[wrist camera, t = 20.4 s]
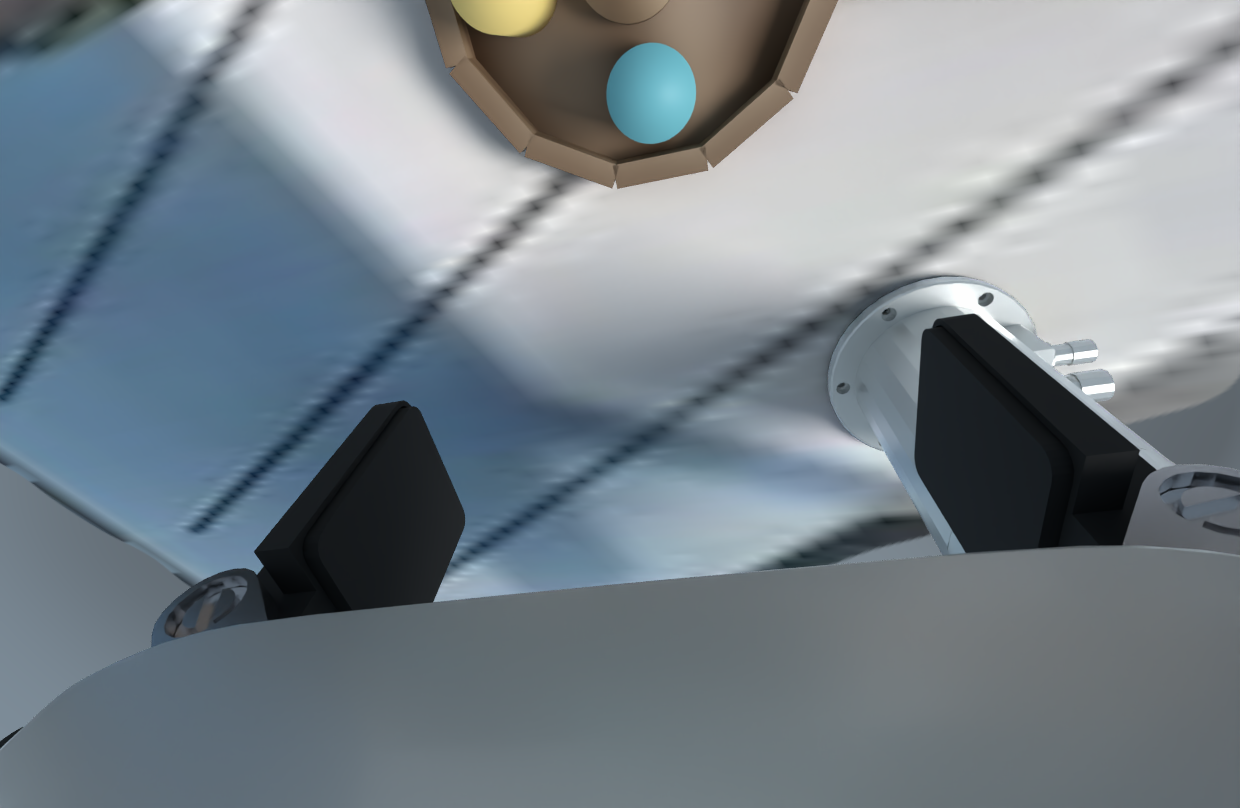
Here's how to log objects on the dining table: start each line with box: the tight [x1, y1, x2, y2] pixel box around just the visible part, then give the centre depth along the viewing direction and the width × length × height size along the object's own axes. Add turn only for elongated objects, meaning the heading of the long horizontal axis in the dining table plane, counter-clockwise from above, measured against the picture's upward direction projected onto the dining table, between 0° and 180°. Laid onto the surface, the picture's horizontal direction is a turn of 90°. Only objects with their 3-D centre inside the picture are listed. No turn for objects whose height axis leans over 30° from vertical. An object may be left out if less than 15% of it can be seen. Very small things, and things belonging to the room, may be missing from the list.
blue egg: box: [606, 43, 696, 144], centre depth 28 cm, size 4×4×5 cm
